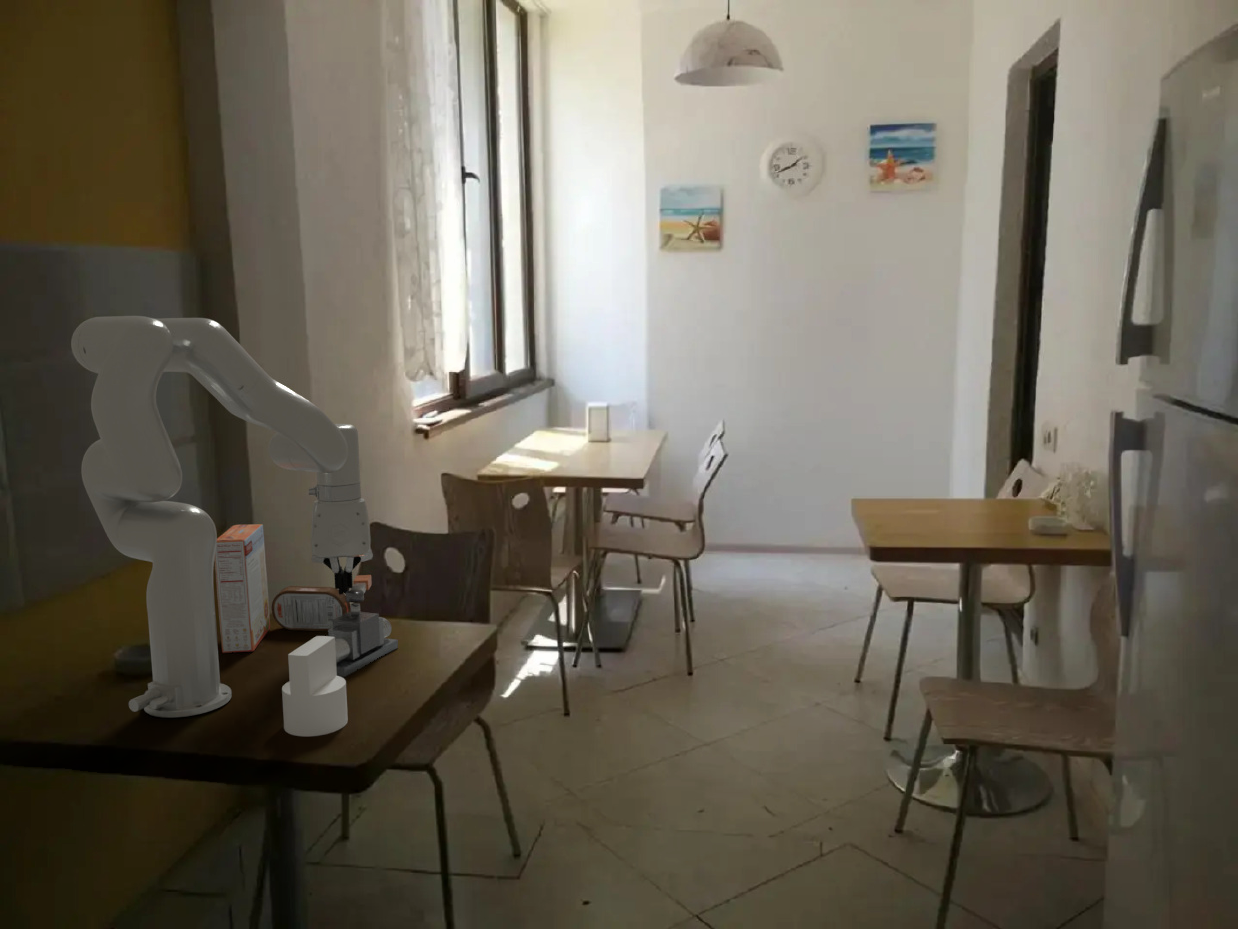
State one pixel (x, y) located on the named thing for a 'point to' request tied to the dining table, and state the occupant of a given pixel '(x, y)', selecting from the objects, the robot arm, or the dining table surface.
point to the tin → (309, 607)
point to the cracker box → (242, 588)
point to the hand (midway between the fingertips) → (344, 592)
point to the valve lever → (359, 588)
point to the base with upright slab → (314, 690)
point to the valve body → (360, 639)
